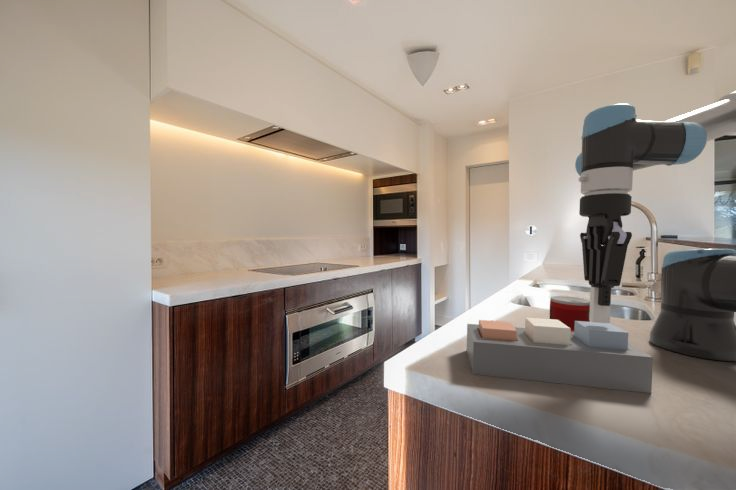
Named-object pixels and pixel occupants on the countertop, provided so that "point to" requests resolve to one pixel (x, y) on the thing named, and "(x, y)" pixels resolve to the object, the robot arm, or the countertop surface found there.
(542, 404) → the countertop surface
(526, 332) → the ivory key
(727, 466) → the countertop surface
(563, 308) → the canned food
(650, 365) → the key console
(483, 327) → the terracotta key
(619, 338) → the slate key
